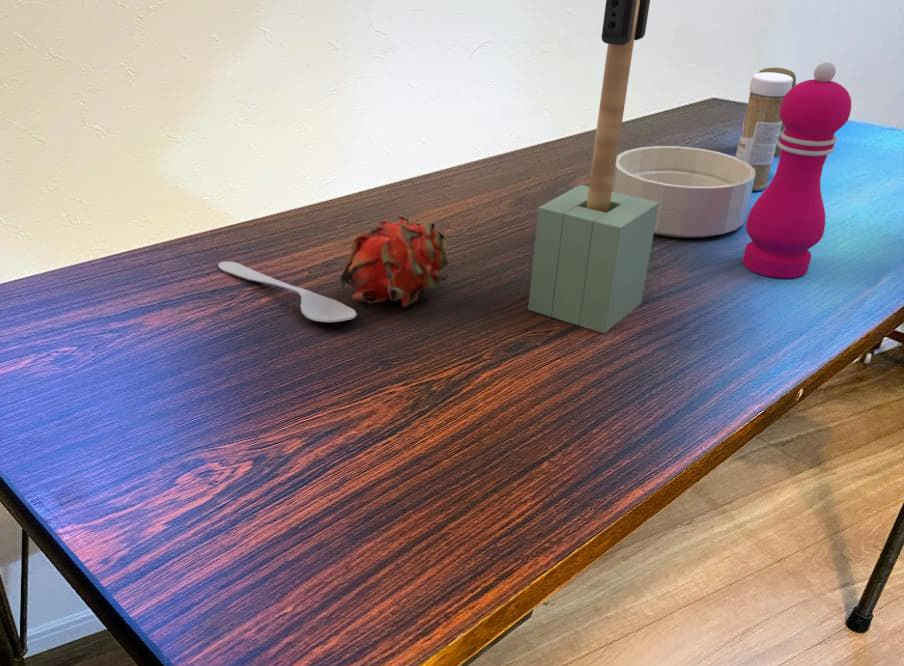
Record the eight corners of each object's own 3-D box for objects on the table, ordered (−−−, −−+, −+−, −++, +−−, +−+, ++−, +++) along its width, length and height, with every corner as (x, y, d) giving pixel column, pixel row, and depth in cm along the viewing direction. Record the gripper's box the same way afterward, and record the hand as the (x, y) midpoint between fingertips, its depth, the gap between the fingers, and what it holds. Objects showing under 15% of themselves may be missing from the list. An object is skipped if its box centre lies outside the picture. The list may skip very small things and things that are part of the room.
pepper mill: (807, 286, 89) (868, 74, 78) (731, 272, 92) (779, 66, 81) (816, 260, 94) (873, 59, 83) (743, 248, 97) (790, 51, 86)
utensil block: (641, 304, 86) (659, 202, 80) (604, 334, 81) (621, 227, 75) (567, 282, 90) (580, 184, 84) (527, 309, 85) (538, 207, 79)
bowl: (762, 212, 106) (774, 162, 103) (713, 252, 96) (725, 197, 93) (640, 186, 114) (648, 138, 111) (584, 220, 104) (590, 169, 101)
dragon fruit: (454, 300, 90) (353, 346, 86) (410, 232, 92) (309, 274, 88) (483, 255, 82) (372, 303, 78) (434, 182, 84) (324, 225, 80)
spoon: (334, 339, 80) (334, 323, 79) (204, 269, 93) (203, 254, 92) (369, 325, 82) (369, 308, 81) (238, 258, 95) (236, 243, 94)
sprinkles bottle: (725, 179, 116) (749, 70, 109) (762, 181, 116) (788, 71, 109) (732, 191, 112) (757, 79, 105) (770, 193, 112) (798, 80, 105)
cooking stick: (611, 218, 81) (648, -29, 70) (601, 224, 79) (637, -26, 69) (591, 213, 82) (624, -31, 71) (580, 219, 80) (613, -28, 70)
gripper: (671, -228, 57) (628, 61, 66) (747, -220, 66) (701, 33, 75) (564, -224, 61) (538, 49, 70) (650, -217, 70) (617, 24, 79)
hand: (622, 40), depth 73 cm, fingers closed on cooking stick, 2 cm apart
